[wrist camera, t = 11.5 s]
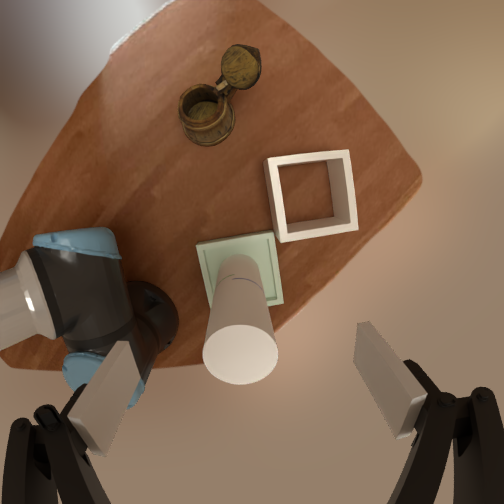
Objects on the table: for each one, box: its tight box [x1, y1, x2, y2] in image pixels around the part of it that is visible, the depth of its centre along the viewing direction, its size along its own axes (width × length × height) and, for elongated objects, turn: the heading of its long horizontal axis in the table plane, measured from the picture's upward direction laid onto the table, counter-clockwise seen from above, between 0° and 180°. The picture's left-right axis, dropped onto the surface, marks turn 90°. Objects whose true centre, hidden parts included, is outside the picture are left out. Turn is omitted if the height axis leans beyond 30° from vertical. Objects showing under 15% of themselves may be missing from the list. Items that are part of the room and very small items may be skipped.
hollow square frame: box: [263, 149, 358, 243], centre depth 44 cm, size 12×12×8 cm
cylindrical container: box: [203, 254, 278, 385], centre depth 37 cm, size 7×7×25 cm
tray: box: [196, 230, 284, 309], centre depth 49 cm, size 13×13×2 cm
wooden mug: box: [178, 44, 261, 146], centre depth 35 cm, size 9×14×18 cm, turn 125°
